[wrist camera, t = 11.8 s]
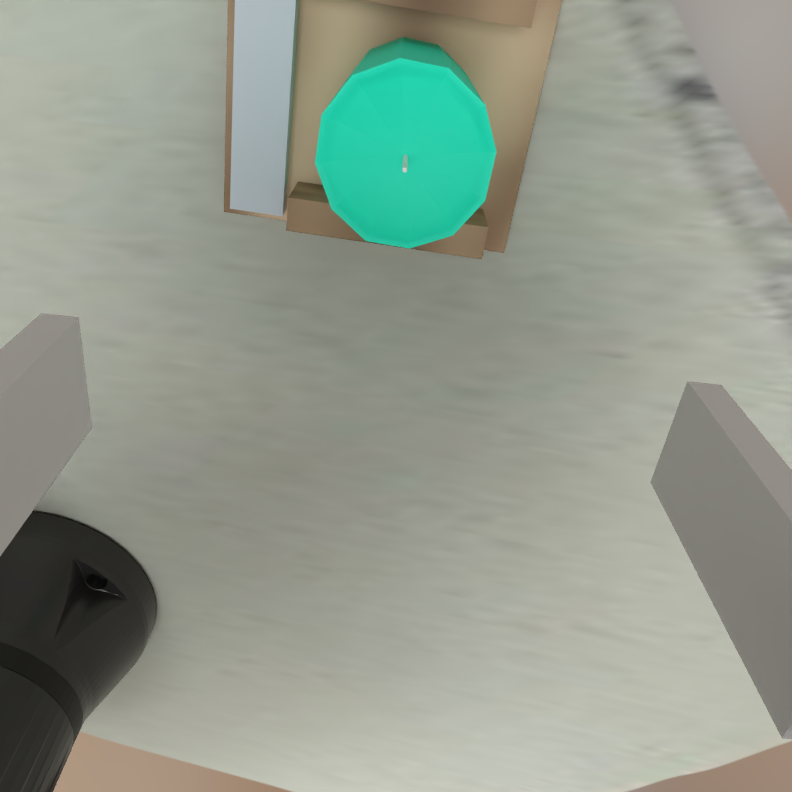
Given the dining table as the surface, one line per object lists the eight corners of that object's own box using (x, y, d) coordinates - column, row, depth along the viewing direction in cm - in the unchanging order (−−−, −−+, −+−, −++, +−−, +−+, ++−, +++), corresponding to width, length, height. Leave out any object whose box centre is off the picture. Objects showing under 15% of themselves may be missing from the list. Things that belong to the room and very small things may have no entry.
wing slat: (234, 203, 34) (229, 208, 33) (241, -64, 29) (236, -66, 28) (285, 210, 34) (282, 216, 33) (302, -54, 29) (299, -55, 28)
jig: (229, 204, 35) (208, 229, 32) (236, -78, 29) (211, -88, 26) (501, 245, 36) (511, 274, 33) (562, -23, 30) (582, -25, 27)
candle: (434, 199, 34) (444, 293, 24) (320, 141, 33) (278, 213, 22) (498, 78, 31) (540, 123, 21) (376, 9, 30) (357, 21, 20)
